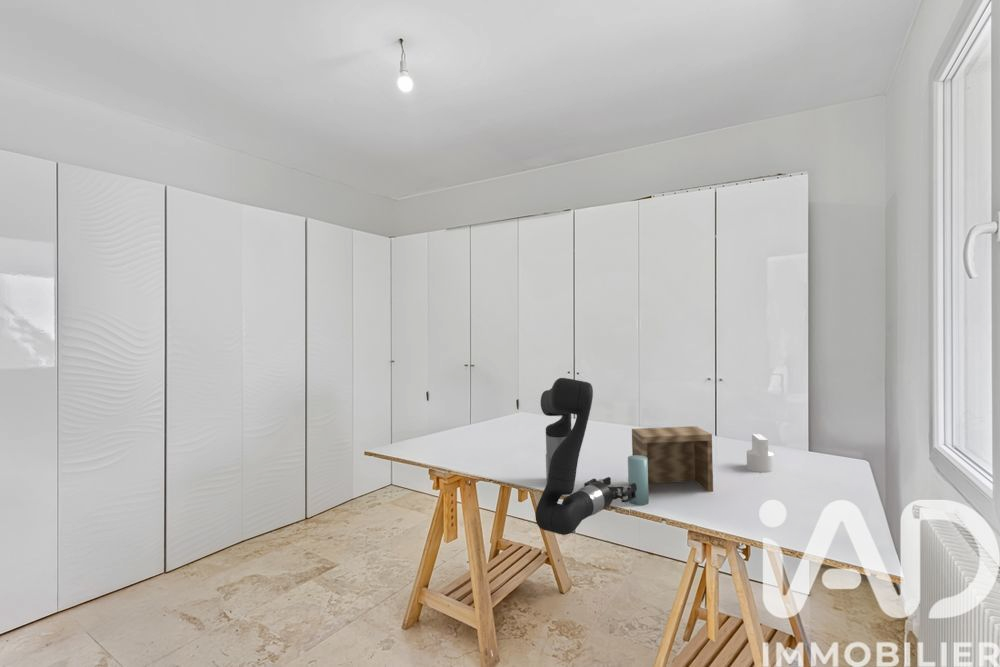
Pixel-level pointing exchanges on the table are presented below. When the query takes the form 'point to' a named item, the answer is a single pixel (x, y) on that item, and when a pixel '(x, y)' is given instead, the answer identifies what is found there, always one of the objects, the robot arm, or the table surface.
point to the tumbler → (639, 478)
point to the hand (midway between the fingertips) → (622, 483)
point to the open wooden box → (676, 454)
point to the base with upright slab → (760, 455)
